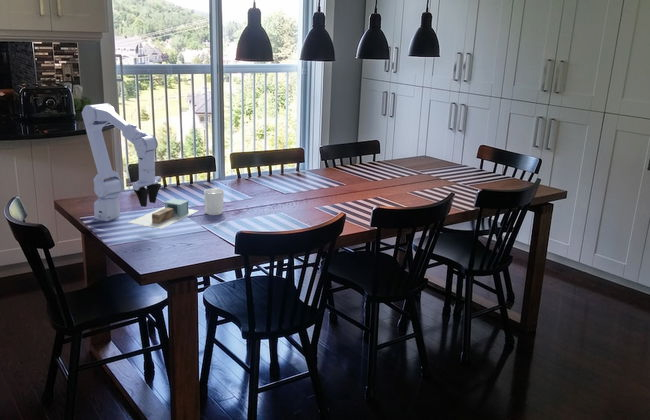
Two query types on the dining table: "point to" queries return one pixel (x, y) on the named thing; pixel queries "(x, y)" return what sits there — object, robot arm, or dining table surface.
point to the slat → (162, 215)
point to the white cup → (213, 201)
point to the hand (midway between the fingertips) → (148, 204)
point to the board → (147, 221)
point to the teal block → (178, 206)
